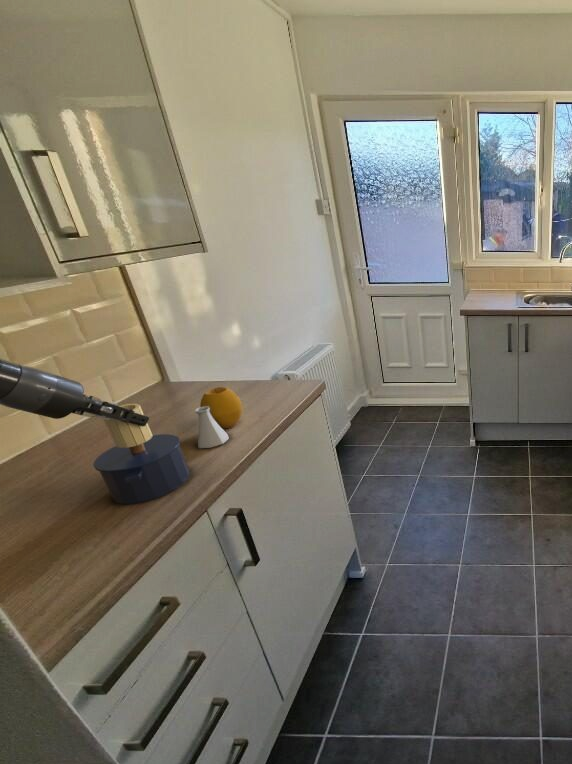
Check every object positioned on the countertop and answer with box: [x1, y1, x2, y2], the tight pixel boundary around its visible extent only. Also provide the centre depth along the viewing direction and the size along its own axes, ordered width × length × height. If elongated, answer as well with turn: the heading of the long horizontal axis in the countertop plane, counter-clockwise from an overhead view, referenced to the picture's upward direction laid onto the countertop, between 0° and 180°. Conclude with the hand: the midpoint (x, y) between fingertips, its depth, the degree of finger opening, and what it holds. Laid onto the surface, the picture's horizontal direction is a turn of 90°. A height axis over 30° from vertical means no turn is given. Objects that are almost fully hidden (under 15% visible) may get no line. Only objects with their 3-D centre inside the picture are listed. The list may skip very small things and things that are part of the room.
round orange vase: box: [199, 386, 243, 429], centre depth 118 cm, size 10×10×12 cm
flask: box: [194, 406, 230, 449], centre depth 109 cm, size 7×7×10 cm
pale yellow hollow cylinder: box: [103, 403, 154, 448], centre depth 88 cm, size 6×6×8 cm
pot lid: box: [93, 433, 181, 473], centre depth 90 cm, size 15×15×6 cm
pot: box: [99, 444, 190, 505], centre depth 93 cm, size 14×19×8 cm
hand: (135, 419), depth 90 cm, fingers closed on pale yellow hollow cylinder, 6 cm apart
